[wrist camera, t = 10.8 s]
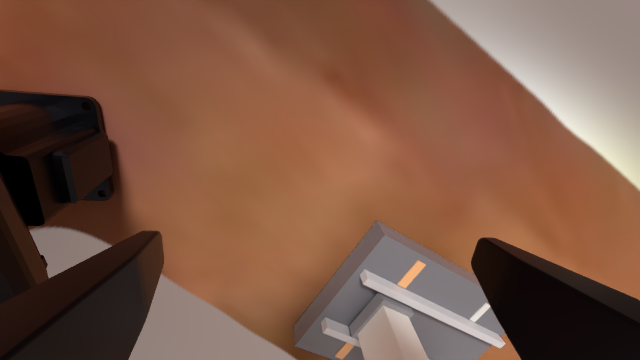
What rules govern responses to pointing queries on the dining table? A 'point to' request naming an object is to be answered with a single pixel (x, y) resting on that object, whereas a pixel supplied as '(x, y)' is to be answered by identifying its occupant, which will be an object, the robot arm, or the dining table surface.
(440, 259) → the grey slider track base
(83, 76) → the dining table surface
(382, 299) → the fader
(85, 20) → the dining table surface
